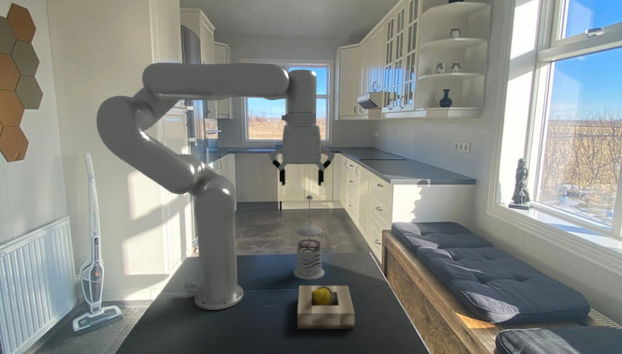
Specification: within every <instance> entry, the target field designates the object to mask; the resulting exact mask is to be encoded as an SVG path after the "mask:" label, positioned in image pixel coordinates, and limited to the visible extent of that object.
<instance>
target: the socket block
mask: <svg viewBox="0 0 622 354" xmlns="http://www.w3.org/2000/svg"><path fill="white" fill-rule="evenodd" d="M319 287H327V288H329V289H330V290H331V291H332V292H333V295H334V301H333V303H332V305H331V306H315V305H314V302H313V294H312V291H314V290H317V289H318V288H319ZM349 289H350V288H349V286H348V285H299V286H298V303H297V329H301V330H302V329H305V330H306V329H308V330H309V329H314V330H315V329H316V330H317V329H319V330H320V329H321V330H323V329H328V330H330V329H337V330H338V329H340V330H341V329H345V330H346V329H349V330H351V329H353V330H354V329H355V318H356V317H355V309H354V304H353V301H352V298H351V297H352V296H351V293H350V290H349Z"/></svg>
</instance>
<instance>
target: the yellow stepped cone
mask: <svg viewBox="0 0 622 354" xmlns="http://www.w3.org/2000/svg"><path fill="white" fill-rule="evenodd" d="M312 294H313V302H314V305H315V306H331V305H332V303H333V301H334V295H333V292H332V291H331V290H330V289H329V288H327V287H319V288H318V289H317V290H314V291H312Z"/></svg>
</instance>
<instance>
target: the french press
mask: <svg viewBox="0 0 622 354" xmlns="http://www.w3.org/2000/svg"><path fill="white" fill-rule="evenodd" d="M306 200H309V201H308V203H309V205H308V207H309V209H308V210H309V211H308V212H309V217H308V218H309V219H308V220H309V221H308V225H307V224H306V225H302V226H300V227H299V228H297V229H296V233H297V235H299V236H303V237H308V239H301V240H299V241H298V242H297V244H298V246H297V247H296V268H295V269H294V271H293V275H294V276H295V277H297V278H299V279H302V280H316V279H319V278H322V277H323V276H324V275H325V271H324V269H323V268H322V264H323V257H325V255H327V254H328V252H329V249H330V245H331V242H330V239H329V237H328V236H327V235H326V234H324V233H323V229H322V228H320V227H319V226H317V225H313V224H311V207H310V206H311V200H313V196H312V195H310V194H308V195H307V196H306ZM317 236H318V237H319V238H320V239H322V238H323V236H324V237H325V240H326V241H327V242H328V244H326V245H325V248H324V250H323V251H322V247H320V246H321V242H320V241H319V240H318V239H312V238H311V237H317ZM326 250H327V251H326ZM322 254H323V255H322Z"/></svg>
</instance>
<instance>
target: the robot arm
mask: <svg viewBox="0 0 622 354" xmlns="http://www.w3.org/2000/svg"><path fill="white" fill-rule="evenodd" d="M317 79H318V78H317V74H316V72H315V71H314V70H311V69H293V70H290V71H289V72H287V71H286V69H285V68H284V67H282V66H280V65H278V64H274V63H260V62H259V63H258V62H230V63H187V62H186V63H183V62H154V63H151V64H149V65H147V66H146V67H145V68H144V70H143V72H142V76H141V82H142V85H143V87H142V88H141V89H139V91H137V92H136V93H135V94H134V95H133V96H128V95H127V96H126V95H114V96H110V97H109V98H108V97H107V98H105V100H103V102H102V103H101V104H100V105H99V107H98V110H97V114H96V119H95V120H96V128H97V133H98V135H99V138H100V140H101V141H102V143H103V144H104V145H105V147H106V148H107V149H108V150H109V151H110V152H111V153H112V154H113V155H114V156H116V157H117V158H119V159H120V160H121V161H122V162H124V163H127V164H128V165H129V166H130V167H132V168H134V169H135V170H137V171H138V172H139V173H141V174H142V175H144V176H145V177H147V178H149V179H150V180H152V181H153V182H155V183H156V184H158V185H159V186H160V187H162V188H164V189H165V190H167V191H168V192H170V193H171V194H174V195H185V194H187V193H188V194H189V195H191V196H192V197H194V198H195V200H194V214H195V215H194V217H195V221H196V231H197V232H196V233H197V234H196V235H197V245H198V248H197V250H198V267H199V280H197V281H186V282H185V285H184V289H185V290H186V293H190V294H192V293H195V295H194V303H195V304H196V306H197V307H198V308H200V309H204V310H210V311H213V310H214V311H217V310H223V309H227V308H230V307H233V306H235V305H237V304H238V303H239V302H240V301H242V299H243V297H244V289H243V288H242V287H241V285H238V269H237V267H238V266H237V240H236V235H237V233H236V218H235V217H236V215H235V214H236V212H235V211H236V209H235V208H236V207H235V206H236V205H235V204H236V194H237V193H236V187H235V185H234V184H233V182H231V180H229V179H228V178H227V177H226V176H224V175H223V174H221V173H220V172H219V171H217V170H216V169H214V168H213V167H211V166H210V165H208V164H207V163H205V162H204V161H202V160H201V159H199V158H198V157H196V156H194V155H192V154H188V153H181V154H178V153H177V152H175V151H173V150H172V149H170V148H169V147H168V146H166V145H164V143H162V142H161V141H159V140H158V139H156V138H154V137H152V136H150V135H149V134H147V133H146V132H145V131H146V130H148V129H150V128H152V127H153V126H154V125H155V124H157V122H159V121H160V120H161V119H162V118H163V117H164V116H165V115H167V113H168V112H170V111H171V110H172V109H173V108H174V107H175V106H176V105H177V103H179V102H180V101H221V100H225V99H229V98H242V97H248V98H249V97H251V98H252V97H255V98H258V97H259V98H262V99H265V100H268V101H276V100H278V101H279V100H285V99H287V100H286V102H287V103H286V108H287V109H286V110H287V111H286V114H283V115H281V121H284V122H286V123H287V124H286V125H284V126H283V131H282V142H281V143H282V144H281V145H282V146H281V147H278V148H276V149H275V150H273V151H271V152H269V153H268V157H269V159H270V161H271V163H272V165H274V167H275V168H277V170H278V171H279V172H278V173H279V179H278V180H279V183H281V186H283V187H284V186H285V185H286V169H285V167H286V166H287V165H316V166H317V167H318V171H317V173H318V174H317V185H318V186H319V187H322V183H325V182H324V181H325V180H324V179H325V177H324V176H325V170H326V169H327V168H328V167H329V166H330V165H331V163H332V161H333V159H334V158H335V154H334V152H331V151H330V150H328V149H325V148H324V147H322V138H321V137H322V136H321V129H320V125H317V88H318V87H317V85H318V84H317V82H318V81H317ZM279 154H281V159H282V162H279V161H278V159H277V158H276V156H278V155H279ZM322 154H324V155H325V156H327V159H326V160H325V161H324V163H323V162H321V160H322Z"/></svg>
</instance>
